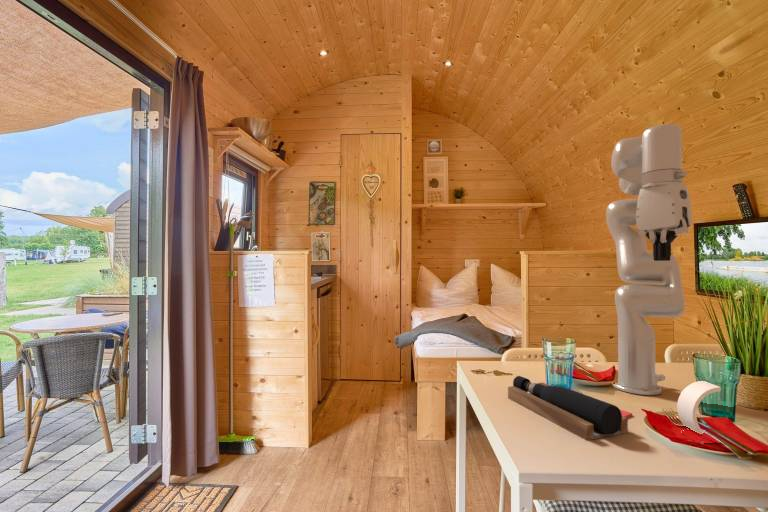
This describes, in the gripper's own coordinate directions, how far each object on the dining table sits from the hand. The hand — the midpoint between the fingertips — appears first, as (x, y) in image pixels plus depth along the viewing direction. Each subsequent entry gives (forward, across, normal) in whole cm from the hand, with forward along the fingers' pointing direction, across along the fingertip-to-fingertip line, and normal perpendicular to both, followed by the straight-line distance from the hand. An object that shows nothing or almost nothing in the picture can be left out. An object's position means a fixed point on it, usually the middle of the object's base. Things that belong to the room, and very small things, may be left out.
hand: (661, 260), depth 90 cm
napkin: (+39, +12, +3) cm, 41 cm away
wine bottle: (+35, +1, +14) cm, 38 cm away
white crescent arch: (+39, -5, -4) cm, 40 cm away
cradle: (+39, +16, +14) cm, 45 cm away
